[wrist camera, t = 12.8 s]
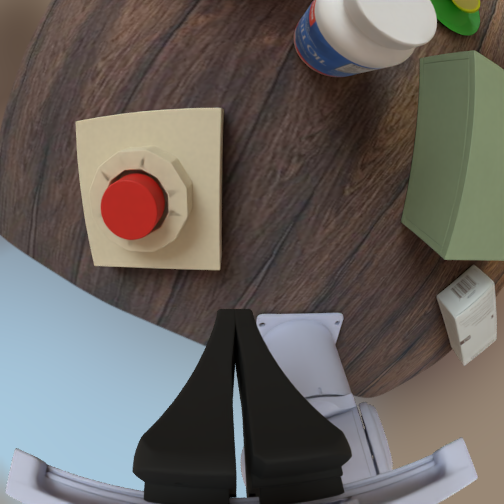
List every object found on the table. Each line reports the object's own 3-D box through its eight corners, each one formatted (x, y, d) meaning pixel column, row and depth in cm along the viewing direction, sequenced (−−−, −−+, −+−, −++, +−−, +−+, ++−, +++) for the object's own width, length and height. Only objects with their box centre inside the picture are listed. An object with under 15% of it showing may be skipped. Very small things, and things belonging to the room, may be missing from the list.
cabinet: (497, 96, 15) (546, 104, 10) (476, 229, 22) (517, 260, 16) (419, 58, 15) (474, 50, 9) (400, 222, 21) (444, 260, 15)
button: (167, 229, 17) (160, 240, 16) (115, 228, 17) (104, 240, 15) (163, 171, 15) (155, 178, 14) (109, 174, 15) (96, 181, 14)
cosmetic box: (495, 282, 20) (499, 340, 24) (471, 260, 24) (483, 319, 28) (452, 320, 21) (465, 369, 26) (431, 294, 25) (450, 346, 30)
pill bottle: (283, 15, 14) (317, -54, 5) (354, 11, 14) (426, -37, 5) (302, 84, 16) (358, 59, 8) (373, 77, 16) (462, 64, 7)
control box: (222, 256, 22) (218, 284, 19) (105, 253, 22) (84, 278, 18) (224, 108, 17) (219, 106, 14) (90, 119, 17) (61, 123, 13)
